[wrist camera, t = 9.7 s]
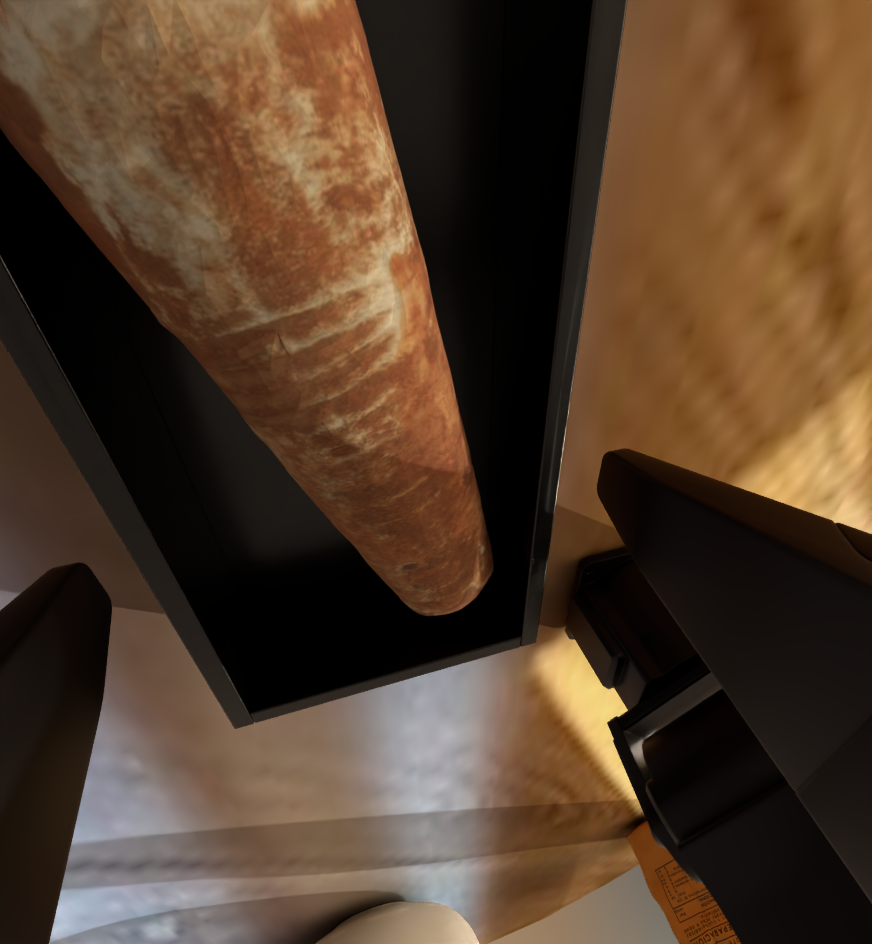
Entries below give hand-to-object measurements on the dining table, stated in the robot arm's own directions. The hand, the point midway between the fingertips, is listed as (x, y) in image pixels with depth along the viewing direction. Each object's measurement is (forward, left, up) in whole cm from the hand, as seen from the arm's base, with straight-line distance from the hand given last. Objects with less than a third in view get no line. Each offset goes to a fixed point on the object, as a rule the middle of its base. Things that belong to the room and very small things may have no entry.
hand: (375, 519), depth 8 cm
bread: (-1, 0, -8) cm, 8 cm away
